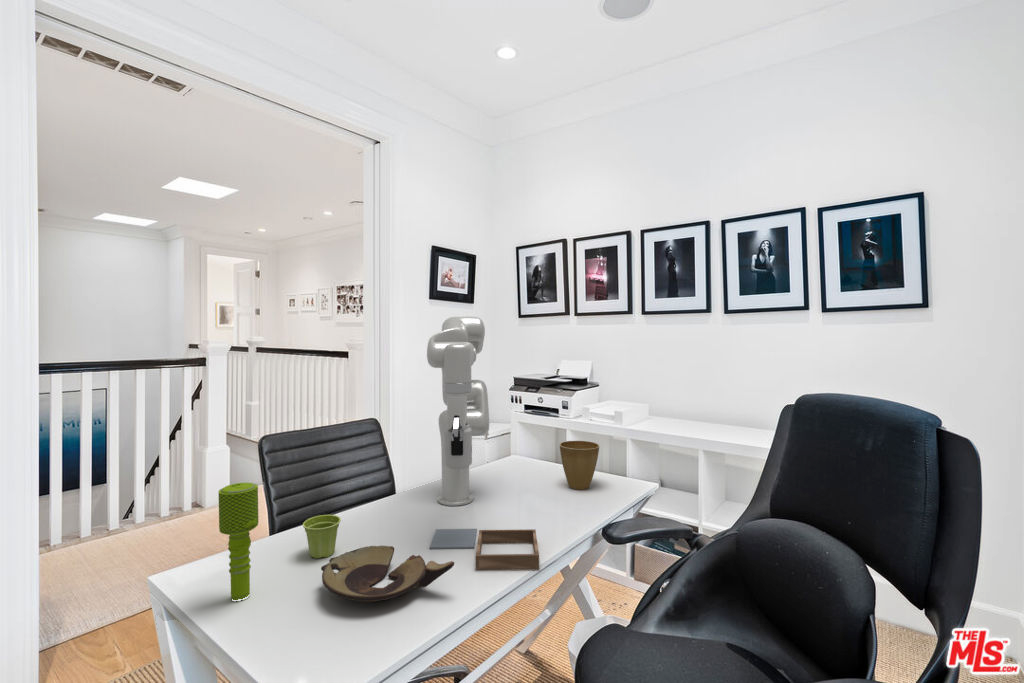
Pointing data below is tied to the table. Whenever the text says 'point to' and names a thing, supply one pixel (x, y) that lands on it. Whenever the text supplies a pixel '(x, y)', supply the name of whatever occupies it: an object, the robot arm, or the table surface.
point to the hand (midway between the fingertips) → (458, 450)
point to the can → (466, 458)
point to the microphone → (239, 531)
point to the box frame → (507, 559)
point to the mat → (454, 539)
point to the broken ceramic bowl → (377, 574)
